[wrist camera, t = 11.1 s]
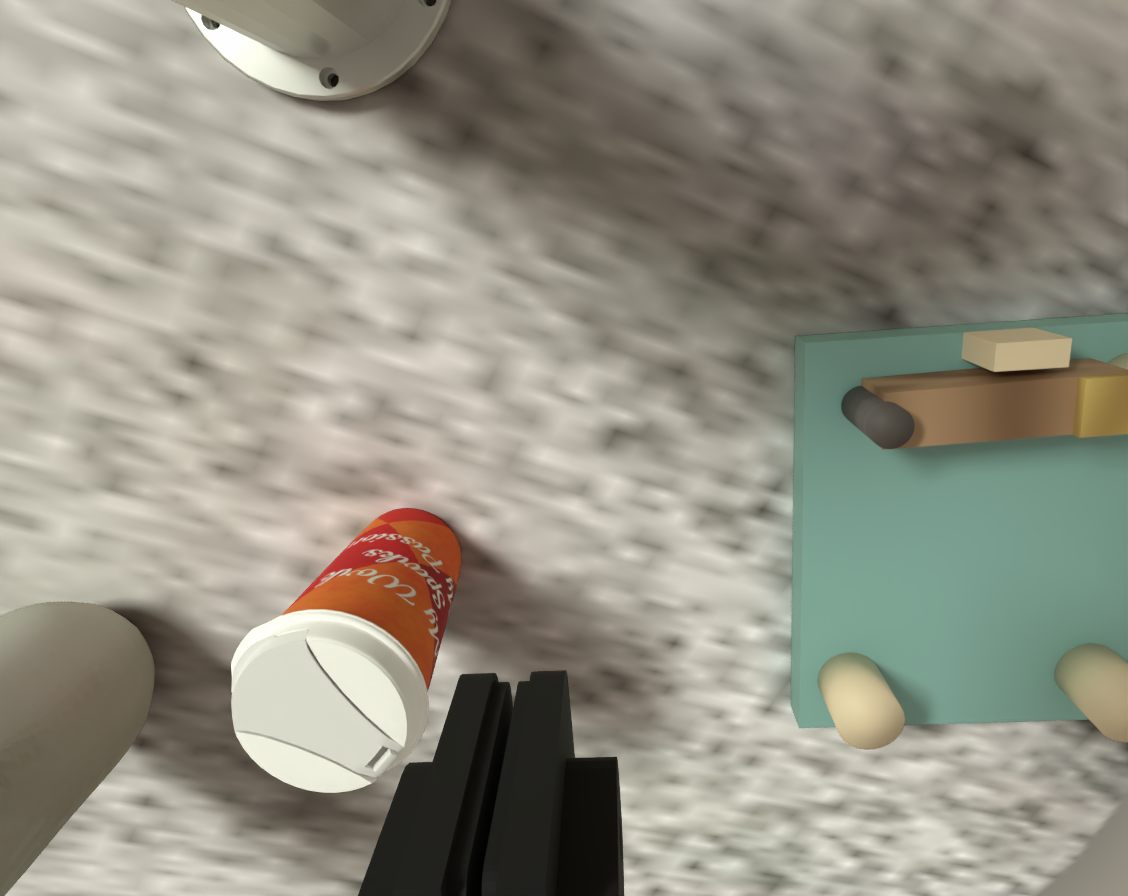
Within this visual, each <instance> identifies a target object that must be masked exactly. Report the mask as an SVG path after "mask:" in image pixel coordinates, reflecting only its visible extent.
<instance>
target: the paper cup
mask: <svg viewBox="0 0 1128 896" xmlns="http://www.w3.org/2000/svg"><path fill="white" fill-rule="evenodd" d="M460 568H461V550H460V546H459V543H458V540H457V538H456V536H455V534H454V533H453V531H452V530H451V529H450V527H449V526H448V525H447V524H446V523H445V522H444V521H442V520H441V519H440V518H438V517H437V516H435V515H433V514H431V513H429V512H426V511H423V510H419V509H413V508H402V509H396V510H392V511H389V512H387V513H385V514H383V515H381V516H380V517H378V518H377V519H376V520H374V521H373V522H372V523H371V524H370V525H369V526H368V527H367V528H365V529H364V530H363V531H362V532H361V533H360V534H359V535H358V536H357V537H356V538H355V539H354V540H353V541H352V542H351V543H350V545H349V546H348V547H347V548H346V549H345V550H344V551H343V552H342V553H341V554H340V555H339V556H338V557H337V558H336V559H335V560H334V561H333V562H332V563H331V564H330V565H329V566H328V567H327V568H326V569H325V570H324V571H323V572H322V574H321V575H320V576H319V577H318V578H317V579H316V580H315V581H314V582H313V583H312V584H311V585H310V586H309V587H308V588H307V589H306V590H305V591H304V592H303V594H302V595H301V596H300V597H299V598H298V599H297V600H296V601H295V602H294V603H293V604H292V605H291V606H290V607H289V608H288V609H287V610H286V611H285V612H284V613H283V615H282V616H279V617H277V618H275V619H273V620H271V621H269V622H267V623H265V624H263V625H261V626H258V627H256V628H254V629H252V630H251V631H250V632H249V633H248V634H247V636H246V637H245V638H244V639H243V640H242V642H241V643H240V645H239V647H238V648H237V650H236V652H235V654H234V657H233V660H232V662H231V672H232V686H231V692H232V699H231V708H232V718H233V725H234V730H235V734H236V736H237V738H238V740H239V742H240V743H241V745H242V747H243V748H244V750H245V751H246V752H247V753H248V755H249V756H250V757H251V758H252V759H253V760H254V761H255V762H256V763H257V764H258V765H259V766H260V767H261V768H263V769H264V770H265V771H267V772H268V773H269V774H271V775H272V776H274V777H276V778H278V779H279V780H281V781H283V782H285V783H287V784H290V785H292V786H295V787H298V788H302V789H305V790H309V791H315V792H323V793H338V792H346V791H352V790H355V789H359V788H362V787H365V786H367V785H369V784H371V783H373V782H375V781H376V780H377V778H378V777H379V775H381V774H383V773H384V772H386V771H388V770H389V769H391V768H393V767H394V766H396V765H397V764H399V763H400V762H402V761H403V760H404V759H405V758H406V757H407V756H408V755H409V754H410V753H411V752H412V751H413V749H414V748H415V747H416V745H417V744H418V743H419V741H420V739H421V737H422V735H423V733H424V730H425V727H426V723H427V719H428V711H429V700H428V689H429V686H430V682H431V679H432V675H433V671H434V667H435V663H436V660H437V656H438V652H439V648H440V645H441V641H442V638H443V634H444V630H445V627H446V623H447V619H448V616H449V612H450V609H451V605H452V601H453V597H454V594H455V590H456V586H457V582H458V578H459V573H460Z"/></svg>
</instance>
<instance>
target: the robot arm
mask: <svg viewBox="0 0 1128 896" xmlns="http://www.w3.org/2000/svg"><path fill="white" fill-rule="evenodd" d="M172 1H174V2H176V3H178V4H180V5H182V6H184V8H185V10H186V12H187V13H188V15H189V16H190V18H191V19H192V21H193V22H194V24H195V25H196V27H197V28H198V30H199V31H200V33H201V34H202V36H203V37H204V38H205V39H206V40H207V42H208V43H209V44H210V45H211V46H212V47H213V48H214V49H215V50H216V51H217V52H218V53H219V54H220V55H221V56H222V57H223V59H224V60H226V61H227V62H228V63H230V64H231V65H232V66H234V67H235V68H236V69H238V70H239V71H240V72H242V73H243V74H244V75H246V76H247V77H248V78H251V79H253V80H255V81H257V82H259V83H261V84H263V85H265V86H267V87H269V88H271V89H273V90H275V91H278V92H281V93H284V94H287V95H290V96H293V97H298V98H304V99H310V100H316V101H334V100H347V99H351V98H355V97H359V96H363V95H366V94H370V93H372V92H374V91H376V90H378V89H380V88H382V87H384V86H386V85H388V84H390V83H392V82H394V81H395V80H396V79H397V78H399V77H400V76H401V75H402V74H404V73H405V72H406V71H407V70H408V69H410V68H411V67H412V66H413V65H415V63H416V62H417V61H418V60H419V58H420V57H421V56H422V55H423V54H424V52H425V51H426V50H427V49H428V47H429V46H430V45H431V44H432V42H433V41H434V39H435V37H436V35H437V33H438V31H439V29H440V28H441V26H442V24H443V22H444V20H445V18H446V16H447V13H448V10H449V7H450V4H451V0H436V3H435V5H433V6H427V3H426V1H427V0H172ZM217 23H220V26H219V28H218V27H217V25H216V24H217ZM335 75H337V76H338V77H339V83H338V84H337V86H335V87H333V86H332V84H331V79H332V77H333V76H335ZM358 896H624V870H623V839H622V817H621V800H620V786H619V771H618V760H617V757H596V758H575V754H574V743H573V732H572V721H571V710H570V698H569V687H568V677H567V672H566V670H565V671H538V672H532V673H531V677H530V681H523V682H518V686H517V691H516V697H515V702H514V707H513V703H512V695H511V687H510V683H509V682H498V677H497V675H496V673H484V674H462V675H460V678H459V680H458V683H457V687H456V690H455V693H454V696H453V699H452V702H451V705H450V709H449V712H448V715H447V718H446V721H445V724H444V728H443V731H442V734H441V737H440V740H439V743H438V746H437V750H436V753H435V756H434V759H433V762H417V763H409V764H408V765H407V766H406V767H405V769H404V771H403V773H402V776H401V779H400V782H399V784H398V787H397V790H396V793H395V795H394V798H393V801H392V804H391V806H390V809H389V812H388V815H387V817H386V820H385V823H384V826H383V828H382V831H381V834H380V837H379V839H378V842H377V845H376V848H375V850H374V853H373V856H372V859H371V861H370V864H369V867H368V869H367V872H366V875H365V878H364V880H363V883H362V886H361V889H360V891H359V894H358Z"/></svg>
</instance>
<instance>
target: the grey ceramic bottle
mask: <svg viewBox="0 0 1128 896" xmlns="http://www.w3.org/2000/svg"><path fill="white" fill-rule="evenodd" d="M154 680H155V667H154V659H153V656H152V653H151V651H150V649H149V647H148V644H147V642H146V640H145V639H144V637H143V636H142V634H141V633H140V631H139V630H138V628H137V627H136V626H134V625H133V624H132V623H131V622H129V621H128V620H127V619H125V618H124V617H122V616H121V615H119V614H117V613H115V612H114V611H112V610H110V609H108V608H105V607H102V606H98V605H94V604H89V603H78V602H47V603H40V604H34V605H30V606H26V607H23V608H19V609H16V610H14V611H11V612H8V613H6V614H4V615H1V616H0V896H4V895H5V894H6V893H7V892H8V891H9V890H10V889H11V888H12V886H13V885H14V884H15V883H16V882H17V881H18V879H19V878H20V877H21V876H22V875H23V874H24V873H25V871H26V870H27V869H28V868H29V867H30V865H31V864H32V863H33V862H34V861H35V859H36V858H37V857H38V856H39V855H40V854H41V852H42V851H43V850H44V849H45V847H46V846H47V845H48V844H49V843H50V841H51V840H52V839H53V838H54V837H55V835H56V834H57V833H58V832H59V830H60V829H61V828H62V827H63V826H64V825H65V823H66V822H67V821H68V820H69V819H70V817H71V816H72V815H73V814H74V813H75V812H76V811H77V809H78V808H79V807H80V806H81V805H82V804H83V802H84V801H85V800H86V799H87V798H88V797H89V796H90V795H91V793H92V792H93V791H94V790H95V789H96V788H97V787H98V786H99V784H100V783H101V782H102V781H103V780H104V779H105V778H106V776H107V775H108V774H109V773H110V772H111V771H112V769H113V768H114V767H115V766H116V765H117V763H118V762H119V761H120V760H121V758H122V757H123V756H124V755H125V753H126V752H127V751H128V749H129V748H130V747H131V745H132V744H133V742H134V741H135V739H136V738H137V736H138V734H139V733H140V731H141V729H142V727H143V725H144V723H145V721H146V718H147V716H148V713H149V710H150V706H151V702H152V697H153V689H154Z"/></svg>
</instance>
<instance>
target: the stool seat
mask: <svg viewBox="0 0 1128 896" xmlns="http://www.w3.org/2000/svg"><path fill="white" fill-rule="evenodd" d="M1085 358H1092V359H1095V360H1098V361H1102V362H1105V363H1108V364H1111V365H1115V366H1118V367H1121V368H1125V369H1128V313H1123V314H1109V315H1094V316H1080V317H1065V318H1051V319H1036V320H1022V321H1007V322H993V323H978V324H964V325H949V326H935V327H920V328H906V329H891V330H877V331H863V332H848V333H834V334H819V335H805V336H795V393H794V476H793V558H792V641H791V707H792V710H793V713H794V715H795V718H796V721H797V723H798V726H799V728H823V727H836V728H837V730H838V733H839V735H840V736H841V738H842V739H843V740H844V741H845V742H846V743H848V744H849V745H851V746H853V747H856V748H859V749H877V748H881V747H884V746H886V745H888V744H890V743H891V742H893V741H894V740H895V739H896V738H897V737H898V736H899V735H900V733H901V731H902V729H903V727H904V725H923V724H957V723H990V722H1023V721H1056V720H1090V721H1091V722H1092V723H1093V724H1094V725H1095V726H1096V727H1097V728H1098V729H1099V730H1100V731H1101V732H1102V733H1103V734H1104V735H1105V736H1106V737H1108V738H1109V739H1111V740H1114V741H1118V742H1128V434H1122V435H1109V436H1097V437H1084V438H1079V437H1077V436H1075V435H1073V434H1072V435H1060V436H1047V437H1035V438H1022V439H1010V440H997V441H985V442H973V443H960V444H948V445H935V446H923V447H910V448H898V449H885V450H883V449H882V448H881V447H879V446H878V445H876V444H875V443H874V442H873V441H872V440H871V439H869V438H868V437H867V436H866V435H865V434H864V433H863V432H861V431H860V430H859V429H858V428H857V427H856V426H854V425H853V424H852V423H851V422H850V421H849V420H848V419H846V418H845V416H844V415H843V413H842V409H841V403H842V400H843V398H844V396H845V394H846V393H847V392H848V391H849V390H851V389H852V388H854V387H857V386H861V378H870V377H881V376H893V375H904V374H915V373H927V372H938V371H949V370H961V369H972V368H986V369H988V370H990V371H993V372H1000V371H1016V370H1031V369H1047V368H1062V367H1069V361H1070V360H1074V359H1085Z"/></svg>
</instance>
